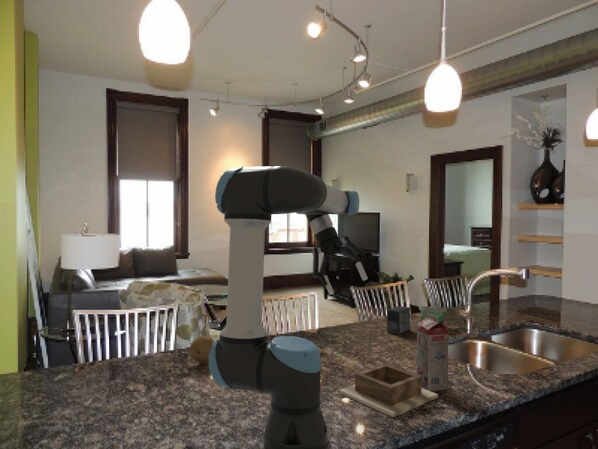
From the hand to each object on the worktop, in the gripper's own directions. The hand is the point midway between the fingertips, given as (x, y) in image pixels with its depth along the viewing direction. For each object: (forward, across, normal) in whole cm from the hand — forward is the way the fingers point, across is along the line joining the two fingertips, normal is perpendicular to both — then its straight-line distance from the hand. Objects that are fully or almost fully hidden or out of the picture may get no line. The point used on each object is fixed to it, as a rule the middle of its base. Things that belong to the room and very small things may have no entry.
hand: (349, 287), depth 151 cm
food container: (+31, -51, -45) cm, 75 cm away
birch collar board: (+33, +8, +13) cm, 37 cm away
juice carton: (+38, -7, +10) cm, 40 cm away
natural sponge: (+4, +51, -28) cm, 58 cm away
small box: (+26, -34, -44) cm, 62 cm away
